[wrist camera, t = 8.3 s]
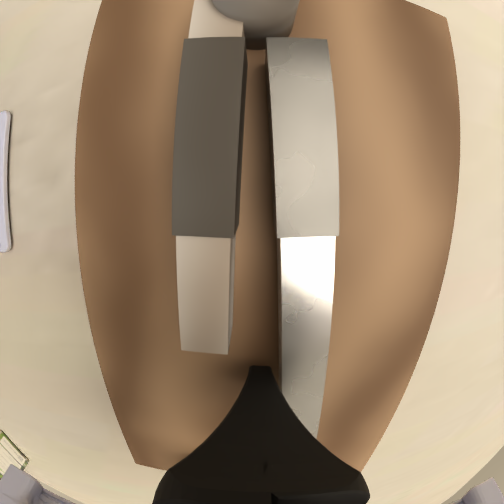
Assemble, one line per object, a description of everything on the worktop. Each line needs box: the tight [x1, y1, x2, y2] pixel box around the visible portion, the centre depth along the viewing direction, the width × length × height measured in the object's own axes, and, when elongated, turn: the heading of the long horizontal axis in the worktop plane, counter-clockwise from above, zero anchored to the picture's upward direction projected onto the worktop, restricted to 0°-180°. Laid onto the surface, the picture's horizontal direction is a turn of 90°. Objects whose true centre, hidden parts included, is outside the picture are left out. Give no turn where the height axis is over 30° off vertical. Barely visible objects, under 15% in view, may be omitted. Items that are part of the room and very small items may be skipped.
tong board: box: [75, 0, 460, 472], centre depth 10 cm, size 16×28×4 cm, turn 177°
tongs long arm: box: [265, 37, 339, 439], centre depth 10 cm, size 2×17×2 cm, turn 3°
